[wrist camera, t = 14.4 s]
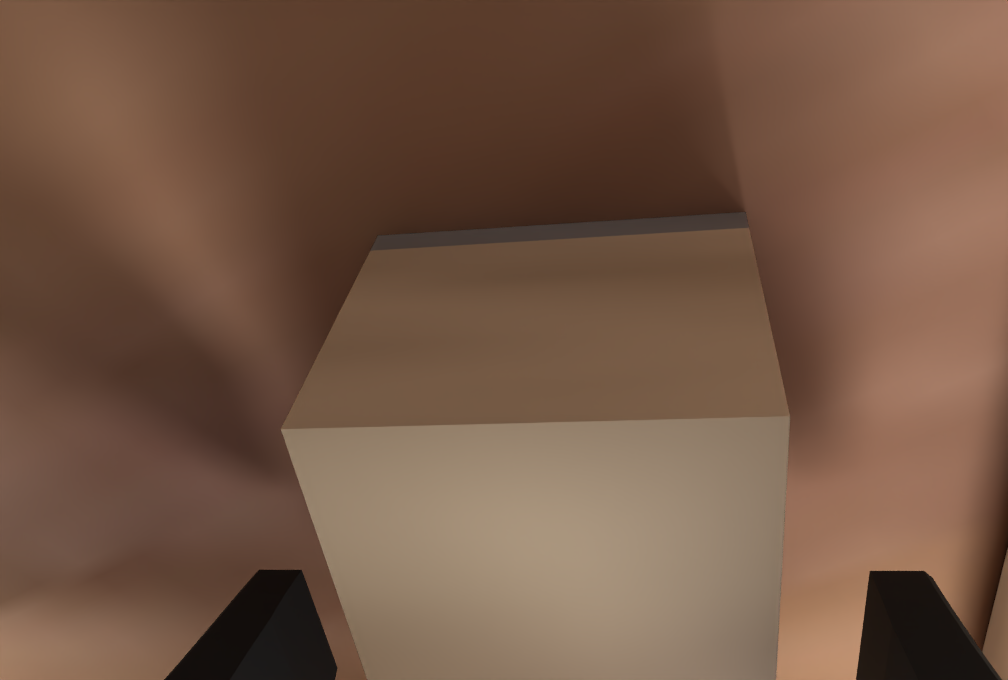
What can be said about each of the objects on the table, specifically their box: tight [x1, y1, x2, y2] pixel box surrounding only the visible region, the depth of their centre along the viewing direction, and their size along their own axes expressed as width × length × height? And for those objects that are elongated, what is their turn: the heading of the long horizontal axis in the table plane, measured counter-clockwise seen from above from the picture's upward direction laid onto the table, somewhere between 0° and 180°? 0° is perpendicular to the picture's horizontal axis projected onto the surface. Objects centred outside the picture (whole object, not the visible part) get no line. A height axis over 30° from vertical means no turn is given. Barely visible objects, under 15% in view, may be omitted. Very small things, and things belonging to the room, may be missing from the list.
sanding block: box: [281, 212, 790, 680], centre depth 12 cm, size 8×4×4 cm, turn 8°
